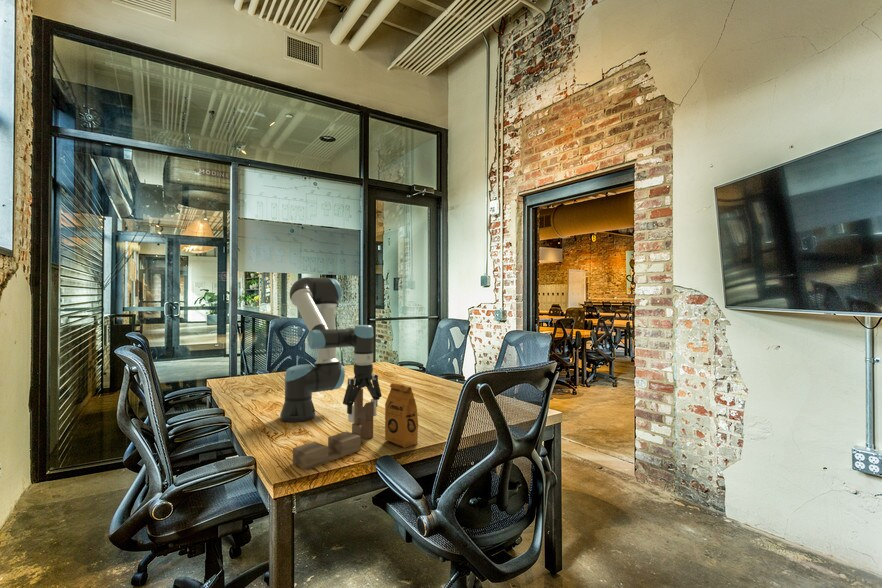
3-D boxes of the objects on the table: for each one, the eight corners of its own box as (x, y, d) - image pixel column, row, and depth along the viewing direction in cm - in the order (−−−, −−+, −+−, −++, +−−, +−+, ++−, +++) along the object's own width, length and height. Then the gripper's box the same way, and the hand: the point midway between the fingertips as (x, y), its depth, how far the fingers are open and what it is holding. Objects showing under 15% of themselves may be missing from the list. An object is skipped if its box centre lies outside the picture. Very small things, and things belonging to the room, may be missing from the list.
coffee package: (402, 450, 145) (402, 389, 145) (381, 441, 153) (381, 384, 154) (422, 443, 152) (423, 385, 152) (401, 435, 160) (401, 380, 161)
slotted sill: (292, 463, 132) (292, 448, 132) (346, 444, 150) (346, 431, 150) (306, 469, 127) (306, 454, 127) (360, 450, 145) (360, 436, 145)
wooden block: (365, 439, 155) (366, 393, 156) (351, 432, 163) (352, 388, 164) (373, 437, 158) (374, 391, 158) (359, 430, 166) (360, 387, 166)
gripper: (345, 368, 150) (345, 427, 149) (390, 361, 168) (390, 414, 167) (333, 366, 154) (332, 423, 154) (378, 359, 172) (377, 410, 172)
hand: (362, 418), depth 161 cm, fingers open, 11 cm apart
